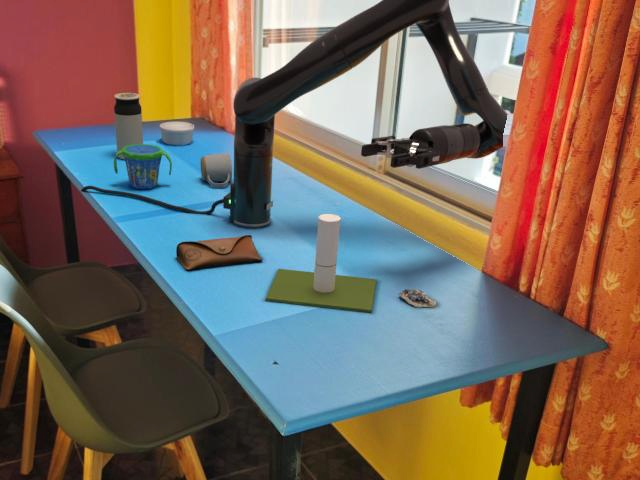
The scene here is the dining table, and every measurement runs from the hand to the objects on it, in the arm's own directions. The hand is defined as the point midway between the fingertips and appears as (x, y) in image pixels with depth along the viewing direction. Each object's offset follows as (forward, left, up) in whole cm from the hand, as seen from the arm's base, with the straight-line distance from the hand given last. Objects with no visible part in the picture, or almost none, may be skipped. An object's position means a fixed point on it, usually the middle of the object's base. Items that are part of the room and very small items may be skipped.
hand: (377, 156), depth 150 cm
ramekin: (-83, +80, -26) cm, 118 cm away
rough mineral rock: (+13, -5, -26) cm, 30 cm away
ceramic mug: (-54, +47, -26) cm, 76 cm away
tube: (-6, -9, -26) cm, 28 cm away
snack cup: (-71, +35, -26) cm, 83 cm away
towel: (-6, -9, -26) cm, 28 cm away
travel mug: (-88, +58, -26) cm, 109 cm away
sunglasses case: (-32, -3, -26) cm, 41 cm away
